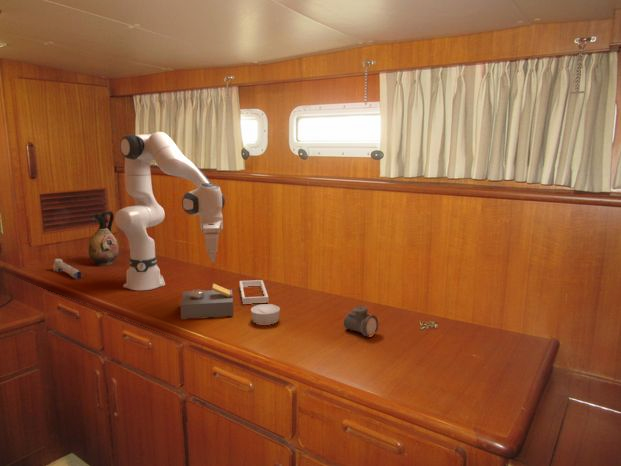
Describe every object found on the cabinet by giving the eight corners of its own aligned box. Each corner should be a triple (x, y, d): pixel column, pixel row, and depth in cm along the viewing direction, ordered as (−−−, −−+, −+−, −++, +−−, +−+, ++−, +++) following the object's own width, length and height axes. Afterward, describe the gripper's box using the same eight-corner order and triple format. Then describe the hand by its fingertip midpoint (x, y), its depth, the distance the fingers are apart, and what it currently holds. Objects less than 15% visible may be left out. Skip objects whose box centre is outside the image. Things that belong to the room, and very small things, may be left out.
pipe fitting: (380, 333, 162) (378, 306, 160) (367, 341, 156) (364, 314, 154) (355, 327, 170) (352, 302, 168) (341, 334, 165) (338, 308, 163)
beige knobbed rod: (72, 272, 217) (50, 257, 232) (73, 285, 219) (50, 269, 233) (83, 270, 221) (61, 255, 236) (83, 282, 223) (61, 267, 238)
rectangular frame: (239, 286, 213) (239, 281, 212) (262, 285, 215) (262, 280, 214) (242, 304, 189) (242, 298, 188) (268, 303, 191) (268, 297, 190)
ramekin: (245, 324, 168) (245, 311, 167) (259, 314, 179) (259, 302, 178) (271, 329, 164) (272, 315, 163) (284, 318, 175) (284, 306, 174)
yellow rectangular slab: (212, 285, 183) (213, 282, 183) (231, 293, 185) (232, 290, 185) (212, 290, 177) (213, 287, 177) (231, 298, 179) (233, 295, 179)
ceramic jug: (100, 268, 238) (96, 213, 232) (84, 264, 246) (79, 211, 240) (128, 262, 252) (125, 210, 246) (112, 258, 260) (108, 208, 254)
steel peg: (191, 309, 183) (190, 289, 181) (204, 308, 184) (204, 289, 182) (190, 313, 177) (189, 294, 176) (204, 313, 178) (204, 293, 177)
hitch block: (183, 305, 187) (183, 291, 186) (231, 302, 191) (231, 289, 190) (181, 319, 172) (180, 304, 170) (233, 316, 176) (233, 302, 175)
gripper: (204, 221, 184) (205, 253, 187) (202, 229, 164) (203, 265, 167) (219, 220, 185) (220, 252, 188) (219, 228, 166) (220, 264, 168)
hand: (212, 258), depth 177 cm, fingers open, 8 cm apart
